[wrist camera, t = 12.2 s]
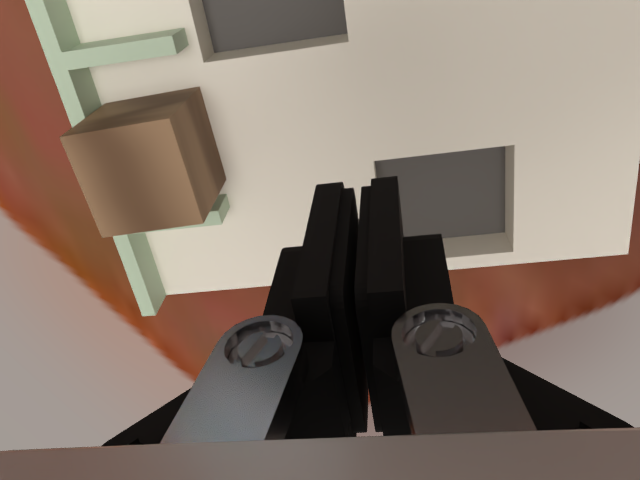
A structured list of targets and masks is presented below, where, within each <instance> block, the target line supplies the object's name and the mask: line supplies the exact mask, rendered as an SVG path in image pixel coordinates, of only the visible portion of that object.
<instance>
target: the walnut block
mask: <svg viewBox="0 0 640 480" xmlns="http://www.w3.org/2000/svg"><path fill="white" fill-rule="evenodd" d="M60 140H61V142H62V144H63V147H64V149H65V151H66V154H67V156H68V158H69V161H70V163H71V166H72V168H73V170H74V173H75V175H76V177H77V180H78V182H79V184H80V187H81V189H82V191H83V194H84V196H85V198H86V201H87V203H88V206H89V208H90V210H91V213H92V215H93V217H94V220H95V222H96V224H97V227H98V229H99V231H100V234H101V236H102V238H104V237H112V236H119V235H126V234H133V233H140V232H147V231H155V230H162V229H169V228H176V227H183V226H190V225H197V224H204V222H205V220H206V218H207V216H208V214H209V212H210V210H211V208H212V206H213V204H214V202H215V201H216V199H217V197H218V195H219V193H220V191H221V189H222V187H223V185H224V183H225V181H226V176H225V172H224V169H223V165H222V162H221V158H220V155H219V152H218V148H217V145H216V141H215V138H214V134H213V131H212V127H211V124H210V121H209V117H208V114H207V110H206V107H205V103H204V100H203V96H202V93H201V89H200V86H199V87H193V88H188V89H182V90H176V91H171V92H165V93H160V94H154V95H148V96H143V97H137V98H132V99H126V100H120V101H115V102H109V103H105V104H103V105H102V106H101V107H99V108H98V109H97V110H95V111H94V112H93V113H91V114H90V115H89V116H87V117H86V118H85V119H83V120H82V121H81V122H79V123H78V124H76V125H75V126H74V127H72V128H71V129H70V130H68V131H67V132H66V133H64V134H63V135H62V136H60Z"/></svg>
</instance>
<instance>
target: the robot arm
mask: <svg viewBox="0 0 640 480" xmlns="http://www.w3.org/2000/svg"><path fill="white" fill-rule="evenodd" d="M368 388H369V395H370V401H371V407H372V413H373V419H374V426H375V431H376V432H383V436H368V437H356V433H359V432H360V433H362V432H367V418H368ZM0 480H640V428H634V427H633V426H631V425H630V424H628V423H626V422H625V421H623V420H621V419H619V418H617V417H615V416H613V415H611V414H609V413H608V412H606V411H604V410H602V409H600V408H598V407H596V406H594V405H592V404H590V403H588V402H586V401H584V400H582V399H581V398H579V397H577V396H575V395H573V394H571V393H569V392H567V391H565V390H563V389H561V388H559V387H557V386H556V385H554V384H552V383H550V382H548V381H546V380H544V379H542V378H540V377H538V376H536V375H534V374H532V373H531V372H529V371H527V370H525V369H523V368H521V367H519V366H517V365H515V364H513V363H511V362H510V361H507V360H506V359H504V358H502V357H501V355H500V353H499V351H498V349H497V347H496V345H495V343H494V341H493V339H492V337H491V335H490V333H489V331H488V329H487V327H486V325H485V323H484V322H483V321H482V319H481V318H480V317H479V315H477V314H475V313H474V312H472V311H471V310H469V309H467V308H464V307H461V306H458V305H455V304H454V302H453V297H452V291H451V285H450V279H449V274H448V268H447V262H446V256H445V251H444V245H443V239H442V234H441V233H440V234H429V235H418V236H407V237H404V234H403V224H402V214H401V204H400V194H399V185H398V176H392V177H382V178H373V179H371V186H363V187H361V197H360V212H359V219H358V212H357V205H356V198H355V192H354V188H344V184H343V182H336V183H326V184H317V185H316V187H315V192H314V196H313V201H312V205H311V210H310V214H309V219H308V223H307V228H306V232H305V237H304V241H303V245H302V246H296V247H285V248H282V250H281V253H280V256H279V260H278V263H277V267H276V270H275V274H274V278H273V281H272V285H271V288H270V292H269V295H268V299H267V303H266V306H265V310H264V313H263V316H258V317H254V318H250V319H247V320H245V321H243V322H240V323H238V324H236V325H234V326H233V327H232V328H231V329H229V330H228V331H227V332H225V333H224V335H223V336H222V337H221V338H220V340H219V341H218V342H217V344H216V346H215V348H214V349H213V351H212V353H211V355H210V356H209V358H208V360H207V362H206V363H205V365H204V367H203V369H202V370H201V372H200V374H199V376H198V377H197V379H196V381H195V383H194V384H193V386H192V388H191V389H189V390H187V391H186V392H184V393H182V394H181V395H179V396H178V397H176V398H175V399H173V400H171V401H170V402H168V403H167V404H165V405H164V406H162V407H161V408H159V409H157V410H156V411H154V412H153V413H151V414H149V415H148V416H147V417H145V418H143V419H142V420H140V421H138V422H137V423H135V424H134V425H132V426H131V427H129V428H128V429H126V430H124V431H123V432H121V433H120V434H118V435H116V436H115V437H114V438H112V439H110V440H109V441H107V442H106V443H104V444H103V445H102V446H101V447H100V446H99V447H75V448H51V449H29V450H8V451H0Z"/></svg>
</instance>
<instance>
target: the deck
mask: <svg viewBox="0 0 640 480" xmlns="http://www.w3.org/2000/svg"><path fill="white" fill-rule="evenodd" d="M25 2H26V5H27V8H28V10H29V13H30V16H31V18H32V21H33V24H34V26H35V29H36V32H37V34H38V37H39V40H40V43H41V45H42V48H43V51H44V53H45V56H46V59H47V61H48V64H49V67H50V69H51V72H52V75H53V77H54V80H55V83H56V85H57V88H58V91H59V93H60V96H61V99H62V102H63V104H64V107H65V110H66V112H67V115H68V118H69V120H70V123H71V126H72V127H74V126H75V125H76V124H78V123H79V122H81V121H82V120H83V119H85V118H86V117H87V116H89V115H90V114H91V113H93V112H94V111H95V110H97V109H98V108H99V107H101V106H102V105H103V104H105V103H109V102H115V101H120V100H126V99H132V98H137V97H143V96H148V95H154V94H160V93H165V92H171V91H176V90H182V89H188V88H193V87H199V86H200V89H201V93H202V96H203V100H204V103H205V107H206V110H207V114H208V117H209V121H210V124H211V127H212V131H213V134H214V138H215V141H216V145H217V148H218V152H219V155H220V158H221V162H222V165H223V169H224V172H225V176H226V181H225V183H224V185H223V187H222V189H221V191H220V193H219V195H218V197H217V199H216V201H215V202H214V204H213V206H212V208H211V210H210V212H209V214H208V216H207V218H206V220H205V222H204V224H197V225H190V226H183V227H176V228H169V229H162V230H155V231H147V232H140V233H133V234H126V235H119V236H113V238H114V241H115V244H116V246H117V249H118V252H119V254H120V257H121V260H122V262H123V265H124V268H125V271H126V273H127V276H128V279H129V281H130V284H131V287H132V289H133V292H134V295H135V297H136V300H137V303H138V305H139V308H140V311H141V313H142V316H151V315H156V314H157V312H158V310H159V308H160V306H161V304H162V302H163V300H164V298H165V296H166V295H170V294H182V293H193V292H204V291H216V290H227V289H238V288H250V287H261V286H271V285H272V281H273V278H274V274H275V270H276V267H277V263H278V260H279V256H280V253H281V250H282V248H285V247H296V246H302V245H303V241H304V237H305V232H306V228H307V223H308V219H309V214H310V210H311V205H312V201H313V196H314V192H315V187H316V185H317V184H326V183H336V182H343V184H344V188H354V192H355V198H356V205H357V212H358V219H359V212H360V197H361V187H363V186H371V179H373V178H382V177H392V176H398V185H399V194H400V204H401V214H402V224H403V234H404V237H407V236H418V235H429V234H440V233H441V234H442V239H443V245H444V251H445V256H446V262H447V268H448V270H453V269H464V268H476V267H487V266H498V265H510V264H521V263H532V262H544V261H555V260H566V259H578V258H589V257H600V256H612V255H623V254H628V250H629V242H630V234H631V226H632V218H633V210H634V202H635V193H636V185H637V177H638V169H639V161H640V0H25Z"/></svg>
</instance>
